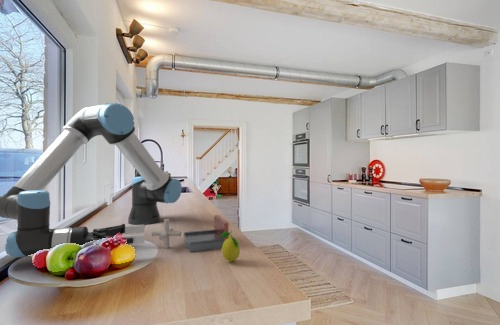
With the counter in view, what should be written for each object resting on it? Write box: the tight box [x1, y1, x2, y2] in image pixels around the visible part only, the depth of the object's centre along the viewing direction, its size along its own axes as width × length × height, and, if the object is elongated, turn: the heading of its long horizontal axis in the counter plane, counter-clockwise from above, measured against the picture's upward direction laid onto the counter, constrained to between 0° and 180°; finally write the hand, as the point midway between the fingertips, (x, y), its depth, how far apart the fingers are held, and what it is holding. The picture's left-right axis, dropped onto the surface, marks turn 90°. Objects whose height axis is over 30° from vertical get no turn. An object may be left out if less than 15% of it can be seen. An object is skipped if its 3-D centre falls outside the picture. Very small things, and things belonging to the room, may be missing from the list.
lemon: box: [221, 231, 241, 263], centre depth 80 cm, size 7×6×10 cm
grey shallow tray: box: [183, 214, 229, 253], centre depth 98 cm, size 14×14×9 cm
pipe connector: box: [151, 218, 182, 249], centre depth 93 cm, size 10×10×10 cm
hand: (144, 233), depth 90 cm, fingers open, 13 cm apart
